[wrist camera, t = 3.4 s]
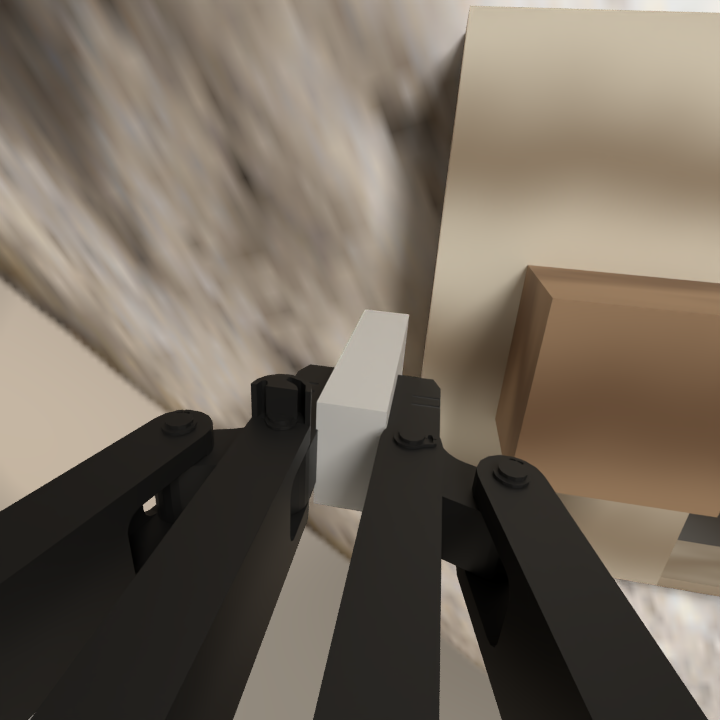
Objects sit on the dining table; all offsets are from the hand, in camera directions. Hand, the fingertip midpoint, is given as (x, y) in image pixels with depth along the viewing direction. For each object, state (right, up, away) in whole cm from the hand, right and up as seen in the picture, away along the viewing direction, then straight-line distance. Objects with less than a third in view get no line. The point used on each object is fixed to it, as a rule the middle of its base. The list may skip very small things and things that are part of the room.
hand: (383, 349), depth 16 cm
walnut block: (+8, 0, 0) cm, 8 cm away
